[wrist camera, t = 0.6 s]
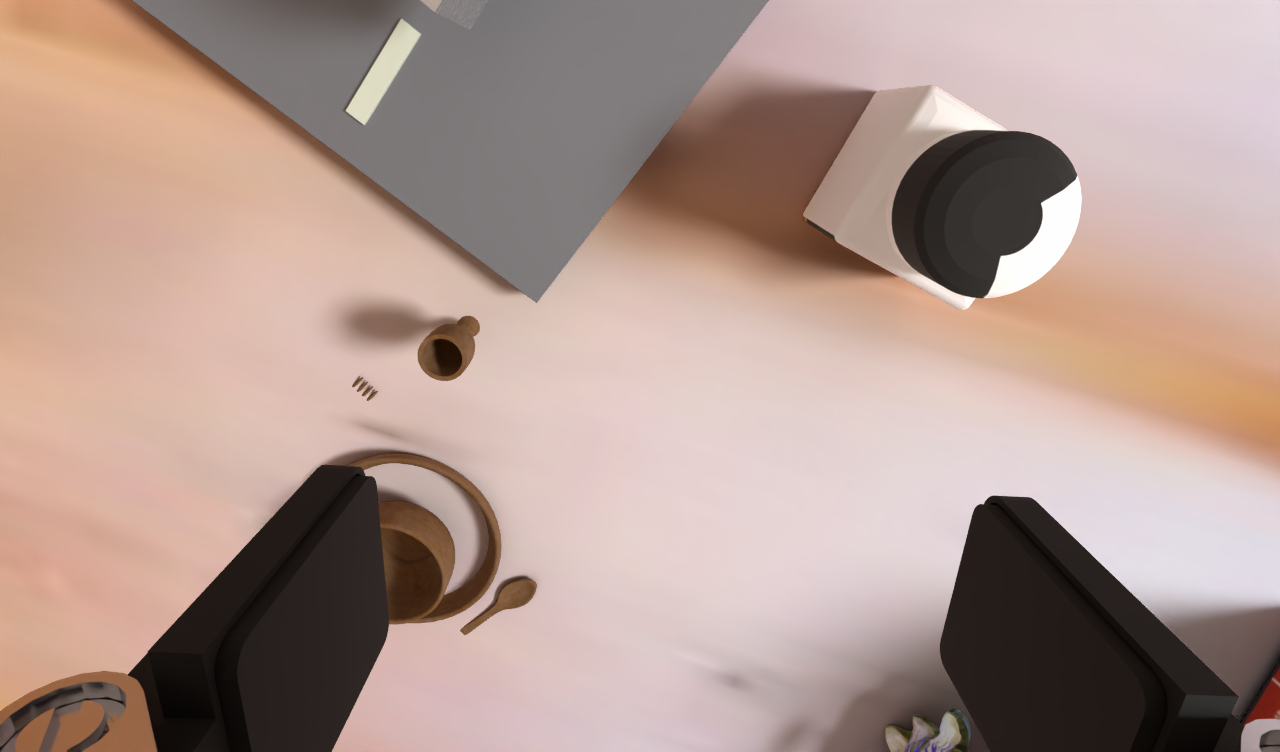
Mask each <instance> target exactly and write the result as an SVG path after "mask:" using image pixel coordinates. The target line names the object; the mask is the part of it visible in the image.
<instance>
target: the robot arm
mask: <svg viewBox="0 0 1280 752" xmlns="http://www.w3.org/2000/svg"><path fill="white" fill-rule="evenodd" d="M388 627H389V613H388V602H387V591H386V580H385V570H384V559H383V548H382V537H381V527H380V516H379V505H378V494H377V485H376V481H375V478H373V477H372V476H365V473H364V471H363V469H362V468H361V467H357V466H335V465H321V466H320V467H319V468H317V469H316V471H315V472H314V473H313V474H312V475H311V476H310V477H309V478H308V479H307V480H306V481H305V482H304V483H303V485H302V486H301V487H300V488H299V489H298V490H297V491H296V492H295V493H294V494H293V495H292V496H291V497H290V499H289V500H288V501H287V502H286V503H285V504H284V505H283V506H282V507H281V508H280V509H279V510H278V512H277V513H276V514H275V515H274V516H273V517H272V518H271V519H270V520H269V521H268V522H267V523H266V524H265V526H264V527H263V528H262V529H261V530H260V531H259V532H258V533H257V534H256V535H255V536H254V537H253V538H252V540H251V541H250V542H249V543H248V544H247V545H246V546H245V547H244V548H243V549H242V550H241V551H240V553H239V554H238V555H237V556H236V557H235V558H234V559H233V560H232V561H231V562H230V563H229V564H228V565H227V567H226V568H225V569H224V570H223V571H222V572H221V573H220V574H219V575H218V576H217V577H216V578H215V579H214V581H213V582H212V583H211V584H210V585H209V586H208V587H207V588H206V589H205V590H204V591H203V592H202V593H201V595H200V596H199V597H198V598H197V599H196V600H195V601H194V602H193V603H192V604H191V605H190V606H189V608H188V609H187V610H186V611H185V612H184V613H183V614H182V615H181V616H180V617H179V618H178V619H177V620H176V622H175V623H174V624H173V625H172V626H171V627H170V628H169V629H168V630H167V631H166V632H165V633H164V634H163V636H162V637H161V638H160V639H159V640H158V641H157V642H156V643H155V644H154V645H153V646H152V647H151V649H150V650H149V651H148V653H147V654H146V655H145V656H144V658H143V659H142V660H141V661H140V662H139V663H138V664H137V665H136V666H135V667H134V668H133V669H132V670H131V672H130V673H129V674H128V675H127V674H125V673H118V672H109V671H101V672H92V673H83V674H79V675H75V676H72V677H68V678H65V679H61V680H58V681H55V682H52V683H50V684H48V685H46V686H43V687H41V688H39V689H36V690H34V691H32V692H30V693H28V694H26V695H25V696H23V697H21V698H20V699H18V700H16V701H15V702H13V703H11V704H10V705H8V706H6V707H5V708H4V709H2V710H1V711H0V752H332V750H333V748H334V746H335V743H336V741H337V739H338V737H339V735H340V733H341V731H342V729H343V727H344V725H345V723H346V721H347V719H348V717H349V715H350V713H351V711H352V709H353V707H354V705H355V703H356V701H357V699H358V697H359V694H360V692H361V690H362V688H363V686H364V684H365V682H366V680H367V678H368V676H369V674H370V672H371V670H372V668H373V666H374V664H375V662H376V660H377V658H378V656H379V654H380V652H381V650H382V647H383V645H384V643H385V641H386V637H387V633H388ZM940 654H941V660H942V663H943V666H944V668H945V670H946V672H947V673H948V675H949V677H950V679H951V681H952V682H953V684H954V686H955V688H956V690H957V691H958V693H959V695H960V697H961V699H962V701H963V702H964V704H965V706H966V708H967V710H968V711H969V713H970V715H971V717H972V719H973V720H974V722H975V724H976V726H977V728H978V729H979V731H980V733H981V735H982V737H983V738H984V740H985V742H986V744H987V746H988V747H989V749H990V751H991V752H1280V720H1278V719H1256V720H1254V721H1252V722H1250V723H1248V724H1246V725H1245V727H1244V726H1243V725H1242V724H1241V723H1240V722H1239V721H1238V720H1237V719H1236V718H1235V717H1234V716H1233V715H1232V714H1231V712H1232V710H1233V707H1234V705H1235V703H1236V701H1237V699H1238V696H1237V695H1236V694H1235V693H1234V692H1233V691H1232V690H1231V689H1230V688H1229V687H1228V686H1227V685H1226V684H1225V683H1224V682H1223V681H1222V680H1221V679H1220V678H1218V677H1217V676H1216V675H1215V674H1214V673H1213V672H1212V671H1211V670H1210V669H1209V668H1208V667H1207V666H1206V665H1205V664H1204V663H1203V662H1202V661H1201V660H1200V659H1199V658H1198V657H1197V656H1196V655H1195V654H1194V653H1193V652H1192V651H1191V650H1189V649H1188V648H1187V647H1186V646H1185V645H1184V644H1183V643H1182V642H1181V641H1180V640H1179V639H1178V638H1177V637H1176V636H1175V635H1174V634H1173V633H1172V632H1171V631H1170V630H1169V629H1168V628H1167V627H1166V626H1165V625H1164V624H1163V623H1162V622H1160V621H1159V620H1158V619H1157V618H1156V617H1155V616H1154V615H1153V614H1152V613H1151V612H1150V611H1149V610H1148V609H1147V608H1146V607H1145V606H1144V605H1143V604H1142V603H1141V602H1140V601H1139V600H1138V599H1137V598H1136V597H1135V596H1134V595H1133V594H1132V593H1130V592H1129V591H1128V590H1127V589H1126V588H1125V587H1124V586H1123V585H1122V584H1121V583H1120V582H1119V581H1118V580H1117V579H1116V578H1115V577H1114V576H1113V575H1112V574H1111V573H1110V572H1109V571H1108V570H1107V569H1106V568H1105V567H1104V566H1103V565H1101V564H1100V563H1099V562H1098V561H1097V560H1096V559H1095V558H1094V557H1093V556H1092V555H1091V554H1090V553H1089V552H1088V551H1087V550H1086V549H1085V548H1084V547H1083V546H1082V545H1081V544H1080V543H1079V542H1078V541H1077V540H1076V539H1075V538H1074V537H1073V536H1071V535H1070V534H1069V533H1068V532H1067V531H1066V530H1065V529H1064V528H1063V527H1062V526H1061V525H1060V524H1059V523H1058V522H1057V521H1056V520H1055V519H1054V518H1053V517H1052V516H1051V515H1050V514H1049V513H1048V512H1047V511H1046V510H1045V509H1044V508H1042V507H1041V506H1040V505H1039V504H1038V503H1037V502H1036V501H1035V500H1033V499H1032V498H1028V497H1010V496H991V497H989V498H988V499H987V500H986V501H985V503H984V504H980V505H978V506H977V507H976V508H975V509H974V512H973V515H972V519H971V523H970V526H969V530H968V534H967V538H966V542H965V546H964V550H963V554H962V558H961V562H960V566H959V570H958V574H957V578H956V582H955V586H954V590H953V594H952V598H951V602H950V606H949V609H948V613H947V617H946V621H945V625H944V629H943V633H942V637H941V642H940Z"/></svg>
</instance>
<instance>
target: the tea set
mask: <svg viewBox="0 0 1280 752" xmlns="http://www.w3.org/2000/svg"><path fill="white" fill-rule="evenodd" d="M479 329H480V325H479V323H478V321H477V320H476V319H475V318H474V317H471V316H464V317H462V318H461V319H460V320H459V321H458V325H457V324H446V325H443V326H440V327H438V328H437V329H435V330H434V331H433V332H431V333H430V334H429V335H428V336H427V337H426V338H425V339H424V341H423V342H422V343H421V345H420V347H419V349H418V361H419V364H420V366H421V368H422V369H423V371H424V372H425V373H426V374H427V375H429V376H430V377H432V378H434V379H436V380H441V381H449V380H453V379H455V378H457V377H458V376H460V375H461V374H462V373H463V372H464V371H465V369H466V368H467V367H468V365H469V363H470V362H471V360H472V358H473V355H474V352H475V342H474V338H473V336H475V335H477V334H478V332H479ZM362 379H363V377H362V378H360V379H359V380H358V381H356V382H355V383H354V384H353V385H352V387H355V386H356V385H357V384H358V383H359V382H360V381H361V380H362ZM367 383H368V382H366V383H365V384H363V385H362V386H361V387H360V388H359V389H358V390H357V392H359V391H361V390H362V389H363V388H364V387H365V386H366V385H367ZM372 388H373V386H372V387H370V388H369V389H368V390H366V391H365V392H364V393H363V394H362V396H365V395H366V394H367V393H368V392H369V391H370V390H371V389H372ZM377 392H378V391H376V392H374V393H373V394H372V395H371V396H370V397H368V399H367V401H369V400H370V399H371V398H372V397H374V395H375V394H376V393H377ZM387 463H402V464H410V465H415V466H419V467H423V468H426V469H429V470H432V471H434V472H437V473H439V474H441V475H443V476H445V477H447V478H448V479H450V480H452V481H453V482H455V483H456V484H458V485H459V486H460V487H461V488H463V489H464V490H465V491H466V492H467V493H468V494H469V495H470V496H471V497H472V498H473V499H474V500H475V501H476V502H477V504H478V505H479V506H480V508H481V510H482V512H483V514H484V516H485V519H486V522H487V526H488V532H489V547H488V552H487V556H486V558H485V561H484V563H483V565H482V567H481V568H480V570H479V572H478V573H477V574H476V575H475V576H474V578H473V579H471V580H470V581H469V582H468V583H467V584H466V585H464V586H463V587H461V588H460V589H458V590H456V591H454V592H452V593H449V594H446V595H444V593H445V591H446V588H447V586H448V583H449V581H450V578H451V576H452V573H453V569H454V564H455V547H454V543H453V539H452V537H451V535H450V532H449V531H448V529H447V527H446V526H445V525H444V523H443V522H442V521H441V520H440V519H439V518H438V517H437V516H435V515H434V514H433V513H431V512H430V511H428V510H427V509H425V508H423V507H421V506H418V505H415V504H412V503H407V502H400V501H391V502H383V503H379V504H378V505H379V516H380V527H381V537H382V548H383V559H384V570H385V580H386V591H387V602H388V613H389V624H405V623H426V622H434V621H438V620H443V619H446V618H449V617H452V616H454V615H457V614H459V613H461V612H463V611H464V610H466V609H468V608H469V607H471V606H472V605H473V604H475V603H476V602H477V601H478V600H479V599H480V598H481V597H482V596H483V595H484V594H485V592H486V591H487V590H488V588H489V587H490V585H491V584H492V582H493V580H494V577H495V575H496V573H497V570H498V566H499V562H500V556H501V535H500V530H499V526H498V522H497V519H496V517H495V514H494V512H493V510H492V508H491V506H490V505H489V503H488V501H487V500H486V499H485V497H484V496H483V494H482V493H481V492H480V491H479V490H478V489H477V488H476V487H475V485H474V484H473V483H471V482H470V481H469V480H468V479H467V478H465V477H464V476H463V475H462V474H460V473H458V472H457V471H455V470H454V469H452V468H450V467H448V466H446V465H444V464H442V463H440V462H437V461H434V460H432V459H429V458H425V457H421V456H417V455H409V454H383V455H376V456H371V457H367V458H364V459H361V460H359V461H356V462H353V463H351V464H349V465H348V466H357V467H361V468H362V469H363V470H365V469H368V468H370V467H373V466H377V465H381V464H387ZM536 588H537V584H536V583H535V582H534V581H533V580H532V579H519V580H516V581H513V582H511V583H509V584H507V585H506V586H504V587H503V588H502V590H501V591H500V593H499V595H498V598H497V601H496V603H495V605H494V606H493V607H492V608H490V609H489V610H488V611H486V612H485V613H483V614H482V615H480V616H479V617H477V618H476V619H474V620H473V621H471V622H470V623H468V624H467V625H465V626H464V627H463V628H462V629H461V630H460V631H461V632H462V633H463V634H464V635H467V634H468V633H470V632H471V631H472V630H474V629H475V628H476V627H478V626H479V625H480V624H482V623H483V622H484V621H486V620H487V619H489V618H490V617H491V616H493V615H494V614H496V613H498V612H500V611H502V610H505V609H513V608H518V607H521V606H523V605H525V604H527V603H528V602H529V601H530V600H531V599H532V598H533V596H534V594H535V591H536Z"/></svg>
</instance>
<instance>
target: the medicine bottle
mask: <svg viewBox="0 0 1280 752" xmlns="http://www.w3.org/2000/svg"><path fill="white" fill-rule="evenodd" d="M1080 211H1081V189H1080V183H1079V180H1078V176H1077V173H1076V171H1075V169H1074V167H1073V165H1072V163H1071V162H1070V160H1069V159H1068V157H1067V156H1066V155H1065V154H1064V153H1063V151H1062V150H1061V149H1060V148H1058V147H1057V146H1056V145H1054V144H1053V143H1052V142H1050V141H1048V140H1046V139H1044V138H1043V137H1041V136H1037V135H1034V134H1031V133H1026V132H1019V131H1008V130H1006V129H1005V128H1003V127H1002V126H1000V125H998V124H997V123H995V122H994V121H992V120H990V119H989V118H987V117H985V116H984V115H982V114H981V113H979V112H977V111H976V110H974V109H972V108H971V107H969V106H968V105H966V104H964V103H963V102H961V101H959V100H958V99H956V98H955V97H953V96H951V95H950V94H948V93H946V92H945V91H943V90H942V89H940V88H938V87H937V86H934V85H927V86H917V87H908V88H899V89H890V90H881V91H878V92H876V93H875V94H874V96H873V97H872V99H871V101H870V102H869V104H868V106H867V107H866V109H865V111H864V112H863V114H862V116H861V117H860V119H859V121H858V122H857V124H856V126H855V127H854V129H853V131H852V132H851V134H850V136H849V137H848V139H847V141H846V142H845V144H844V146H843V147H842V149H841V151H840V152H839V154H838V156H837V157H836V159H835V161H834V162H833V164H832V166H831V168H830V169H829V171H828V173H827V174H826V176H825V178H824V179H823V181H822V183H821V184H820V186H819V188H818V189H817V191H816V193H815V194H814V196H813V198H812V199H811V201H810V203H809V204H808V206H807V208H806V209H805V211H804V213H803V219H804V220H805V221H806V222H807V223H809V224H810V225H812V226H813V227H815V228H816V229H818V230H819V231H821V232H822V233H824V234H825V235H827V236H828V237H830V238H831V239H833V240H835V241H836V242H838V243H839V244H841V245H843V246H845V247H846V248H848V249H850V250H852V251H854V252H855V253H857V254H859V255H861V256H863V257H864V258H866V259H868V260H870V261H872V262H873V263H875V264H877V265H879V266H881V267H882V268H884V269H886V270H888V271H890V272H891V273H893V274H895V275H897V276H899V277H900V278H902V279H904V280H906V281H908V282H909V283H911V284H913V285H915V286H917V287H918V288H920V289H922V290H924V291H926V292H927V293H929V294H931V295H933V296H935V297H936V298H938V299H940V300H942V301H944V302H945V303H947V304H949V305H951V306H953V307H954V308H956V309H959V310H964V309H967V308H968V307H969V306H970V305H971V303H972V302H973V301H974V299H975V298H994V297H999V296H1004V295H1007V294H1010V293H1013V292H1016V291H1019V290H1021V289H1023V288H1025V287H1027V286H1029V285H1030V284H1032V283H1033V282H1035V281H1037V280H1038V279H1039V278H1041V277H1042V276H1043V275H1044V274H1046V273H1047V272H1048V271H1049V270H1050V269H1051V268H1052V267H1053V266H1054V265H1055V264H1056V263H1057V261H1058V260H1059V259H1060V258H1061V256H1062V255H1063V254H1064V252H1065V251H1066V249H1067V247H1068V246H1069V244H1070V242H1071V240H1072V238H1073V236H1074V234H1075V231H1076V228H1077V225H1078V222H1079V217H1080Z"/></svg>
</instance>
